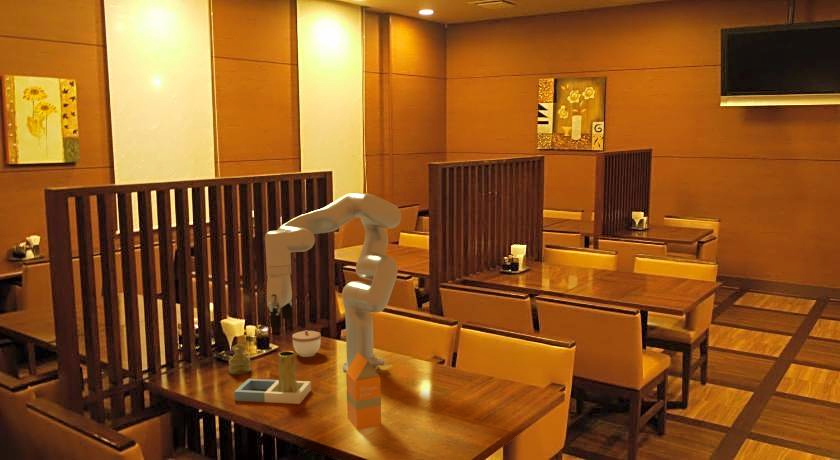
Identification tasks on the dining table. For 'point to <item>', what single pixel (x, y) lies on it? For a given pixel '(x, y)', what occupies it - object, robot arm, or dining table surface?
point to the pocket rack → (270, 392)
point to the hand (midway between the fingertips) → (281, 322)
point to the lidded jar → (306, 342)
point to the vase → (287, 372)
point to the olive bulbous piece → (239, 361)
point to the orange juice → (363, 394)
